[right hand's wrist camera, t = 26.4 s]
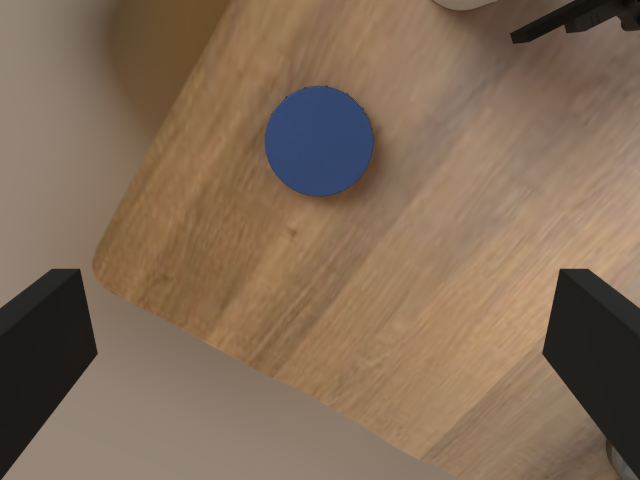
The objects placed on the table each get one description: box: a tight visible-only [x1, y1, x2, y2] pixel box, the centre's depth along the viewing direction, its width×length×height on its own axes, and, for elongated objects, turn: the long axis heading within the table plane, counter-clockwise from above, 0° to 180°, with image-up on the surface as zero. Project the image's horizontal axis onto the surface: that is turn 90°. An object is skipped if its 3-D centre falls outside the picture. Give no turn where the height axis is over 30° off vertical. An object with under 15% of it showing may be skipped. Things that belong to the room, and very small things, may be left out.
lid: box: [265, 86, 373, 196], centre depth 39 cm, size 9×9×2 cm
